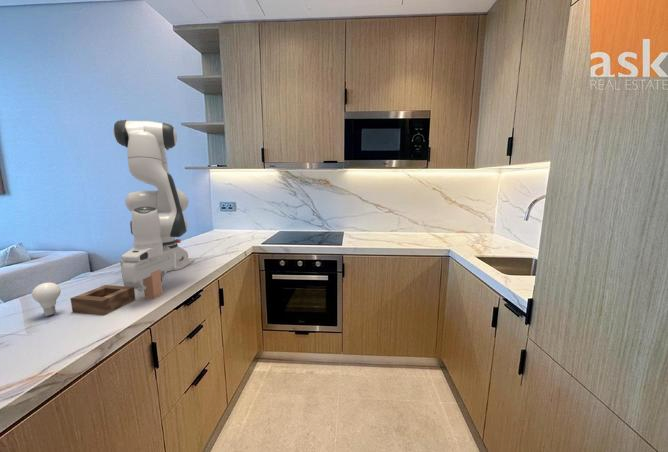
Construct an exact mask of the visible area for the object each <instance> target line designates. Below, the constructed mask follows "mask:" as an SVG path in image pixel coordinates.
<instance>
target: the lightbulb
mask: <svg viewBox="0 0 668 452" xmlns="http://www.w3.org/2000/svg"><path fill="white" fill-rule="evenodd" d="M61 290H62V289H61V287H60V286H59V285H58V284H57V283H55V282H50V281H49V282H43V283H40V284H38V285H37V286H35V287H34V288H33V290H32V292H31V297H32V299H33V300H34V301H35V302H37V303H38V304H39V305H40V307H41V308H42V310H43V315H44V316H47V317H51V316H53V315H54V314H56V313H57V312H56V304H57V300H58V298H59V297H60V296H61V295H60V294H61Z"/></svg>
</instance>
